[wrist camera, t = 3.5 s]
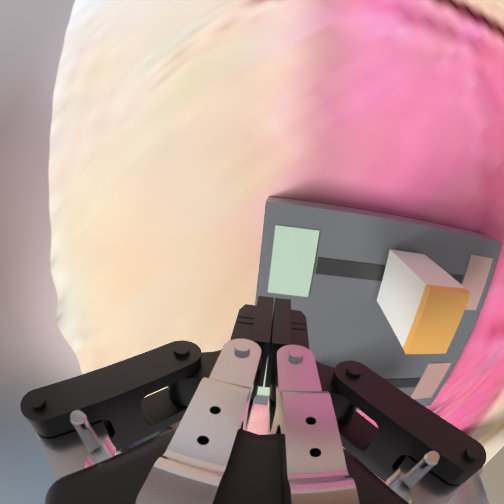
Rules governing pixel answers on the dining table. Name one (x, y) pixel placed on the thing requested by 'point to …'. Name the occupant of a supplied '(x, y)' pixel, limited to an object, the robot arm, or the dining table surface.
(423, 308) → the block
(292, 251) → the dual slider panel
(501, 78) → the dining table surface
